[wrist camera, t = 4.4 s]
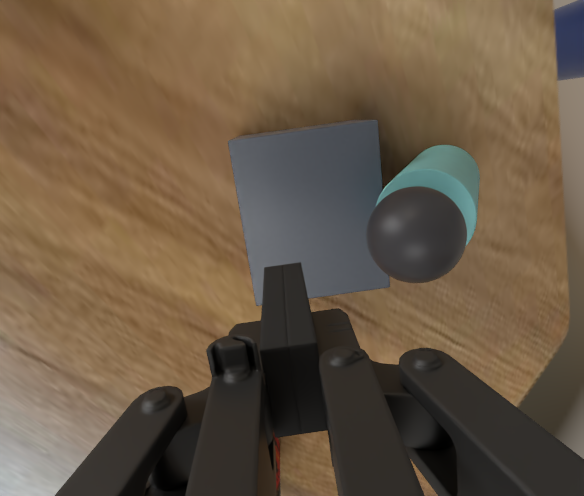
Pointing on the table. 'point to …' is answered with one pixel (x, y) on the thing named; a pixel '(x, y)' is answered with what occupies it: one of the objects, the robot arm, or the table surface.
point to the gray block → (311, 203)
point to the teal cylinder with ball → (425, 215)
